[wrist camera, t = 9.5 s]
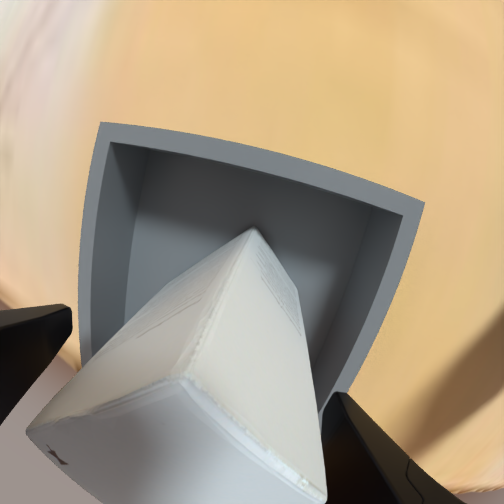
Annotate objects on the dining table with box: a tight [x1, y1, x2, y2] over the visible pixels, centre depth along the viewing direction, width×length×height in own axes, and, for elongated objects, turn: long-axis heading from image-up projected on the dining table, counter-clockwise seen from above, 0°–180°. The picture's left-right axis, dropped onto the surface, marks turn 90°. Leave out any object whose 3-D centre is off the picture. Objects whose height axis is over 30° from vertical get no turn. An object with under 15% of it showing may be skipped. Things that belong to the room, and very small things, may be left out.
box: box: [78, 122, 425, 435], centre depth 14 cm, size 14×14×4 cm
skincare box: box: [26, 226, 327, 504], centre depth 10 cm, size 6×4×12 cm
